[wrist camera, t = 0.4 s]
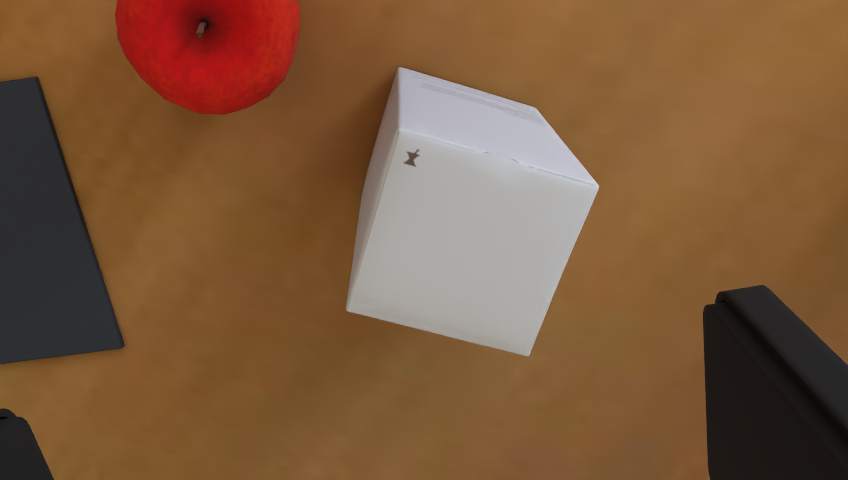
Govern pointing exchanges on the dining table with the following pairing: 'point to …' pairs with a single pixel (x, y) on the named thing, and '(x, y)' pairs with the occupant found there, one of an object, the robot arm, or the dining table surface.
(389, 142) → the white product box
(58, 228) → the mat
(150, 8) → the apple
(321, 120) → the dining table surface
